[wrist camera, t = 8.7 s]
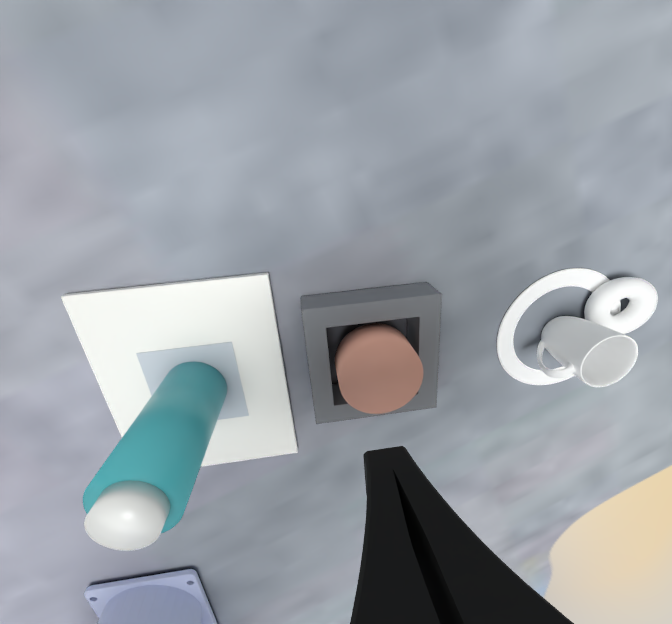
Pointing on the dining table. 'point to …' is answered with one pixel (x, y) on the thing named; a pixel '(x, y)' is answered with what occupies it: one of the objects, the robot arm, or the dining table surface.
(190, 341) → the pad
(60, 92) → the dining table surface
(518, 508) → the dining table surface
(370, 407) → the button
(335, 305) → the housing
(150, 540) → the marker
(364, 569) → the robot arm
